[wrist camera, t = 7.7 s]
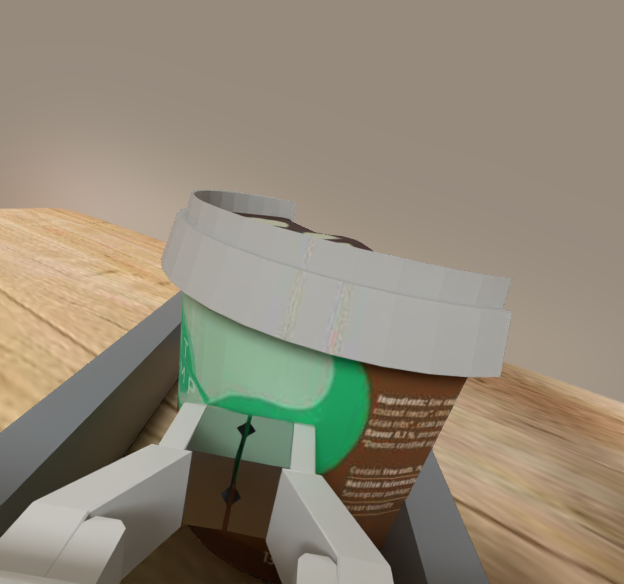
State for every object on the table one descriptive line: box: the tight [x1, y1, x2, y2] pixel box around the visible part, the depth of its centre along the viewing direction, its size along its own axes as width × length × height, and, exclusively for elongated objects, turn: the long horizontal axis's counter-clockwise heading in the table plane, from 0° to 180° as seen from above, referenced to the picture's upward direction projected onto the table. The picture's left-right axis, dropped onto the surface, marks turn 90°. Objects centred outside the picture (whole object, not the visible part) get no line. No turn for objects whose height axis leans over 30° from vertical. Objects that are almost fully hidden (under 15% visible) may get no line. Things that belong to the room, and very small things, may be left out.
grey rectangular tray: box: [0, 290, 490, 584], centre depth 15 cm, size 12×18×4 cm, turn 178°
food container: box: [161, 189, 512, 584], centre depth 12 cm, size 12×6×10 cm, turn 25°
